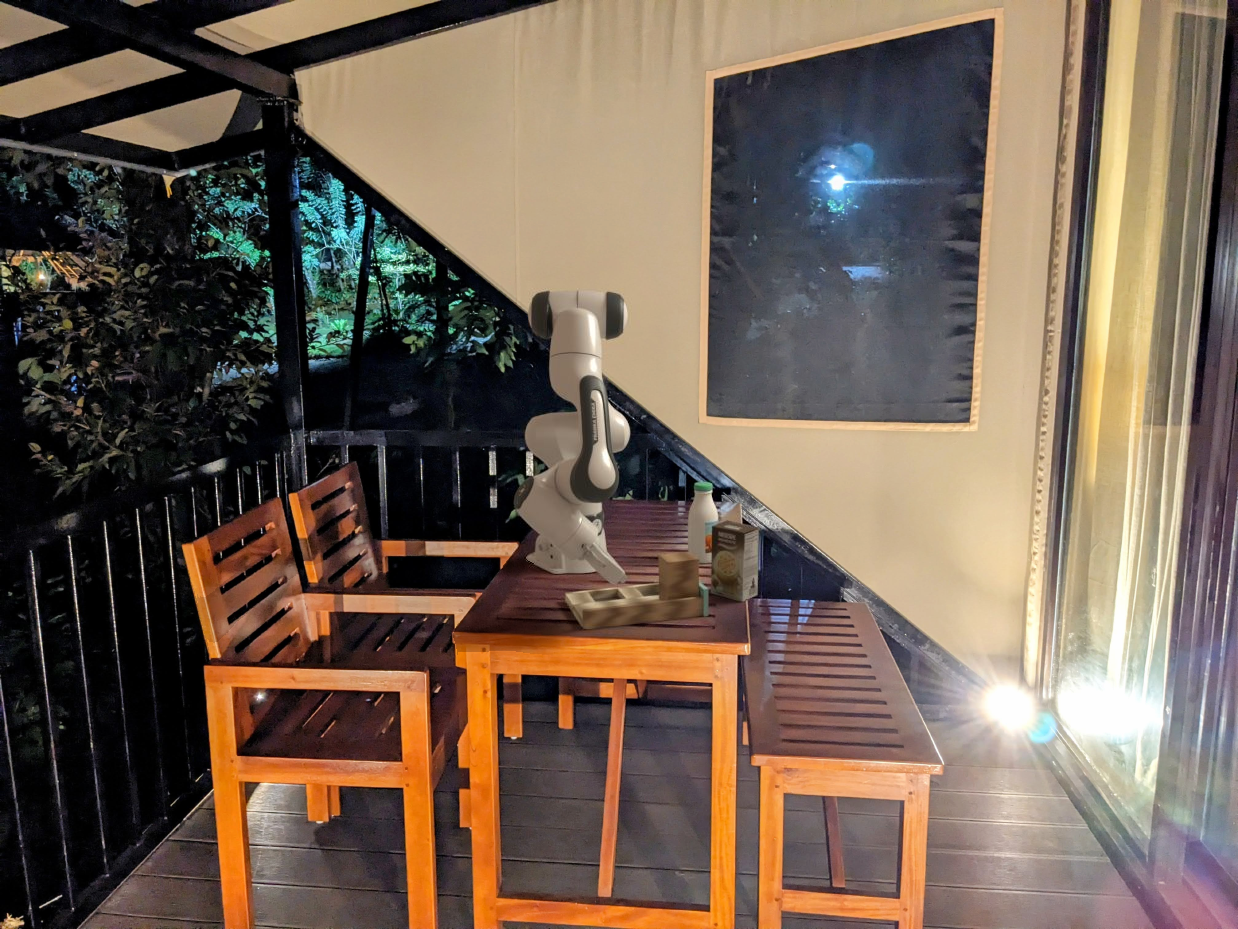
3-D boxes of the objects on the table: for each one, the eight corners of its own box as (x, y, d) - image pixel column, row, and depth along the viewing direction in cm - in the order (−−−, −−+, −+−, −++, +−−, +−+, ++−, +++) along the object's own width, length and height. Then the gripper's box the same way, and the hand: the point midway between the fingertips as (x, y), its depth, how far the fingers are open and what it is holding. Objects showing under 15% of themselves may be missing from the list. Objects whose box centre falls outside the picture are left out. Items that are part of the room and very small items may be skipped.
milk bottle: (694, 565, 227) (694, 487, 223) (683, 557, 234) (683, 481, 230) (723, 562, 229) (723, 485, 225) (711, 554, 236) (711, 479, 232)
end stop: (703, 616, 192) (703, 589, 190) (675, 590, 209) (675, 565, 208) (708, 615, 192) (708, 588, 191) (679, 589, 209) (679, 564, 208)
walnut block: (667, 607, 191) (667, 562, 190) (658, 598, 197) (658, 554, 195) (698, 604, 193) (698, 559, 191) (689, 595, 199) (689, 551, 197)
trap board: (583, 629, 185) (583, 611, 184) (565, 601, 202) (564, 584, 202) (703, 615, 192) (703, 597, 191) (675, 589, 209) (675, 572, 208)
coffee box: (709, 593, 206) (709, 525, 203) (725, 586, 210) (726, 519, 207) (743, 602, 200) (743, 532, 197) (759, 595, 204) (760, 526, 201)
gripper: (600, 541, 177) (648, 584, 182) (577, 515, 197) (621, 554, 201) (578, 565, 177) (627, 607, 182) (557, 536, 196) (601, 575, 201)
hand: (623, 579), depth 192 cm, fingers closed
